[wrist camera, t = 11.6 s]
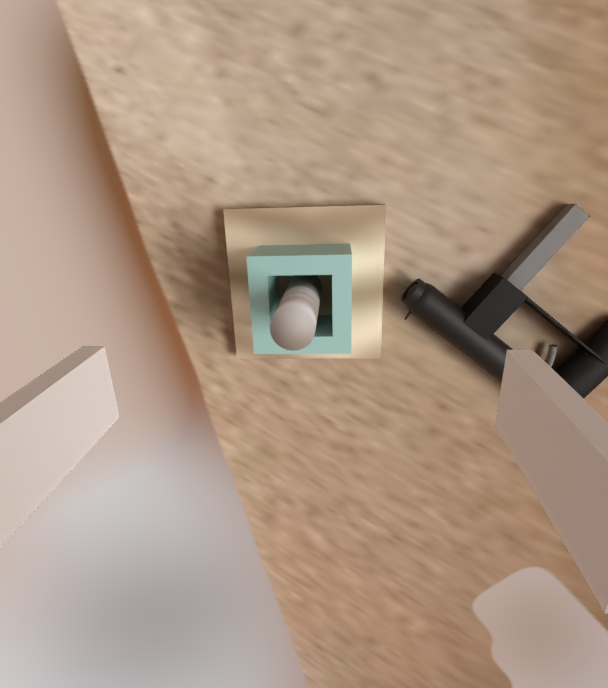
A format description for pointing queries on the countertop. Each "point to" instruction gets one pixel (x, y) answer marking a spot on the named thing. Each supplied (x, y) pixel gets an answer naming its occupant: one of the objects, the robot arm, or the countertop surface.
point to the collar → (301, 261)
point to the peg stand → (309, 290)
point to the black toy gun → (502, 300)
